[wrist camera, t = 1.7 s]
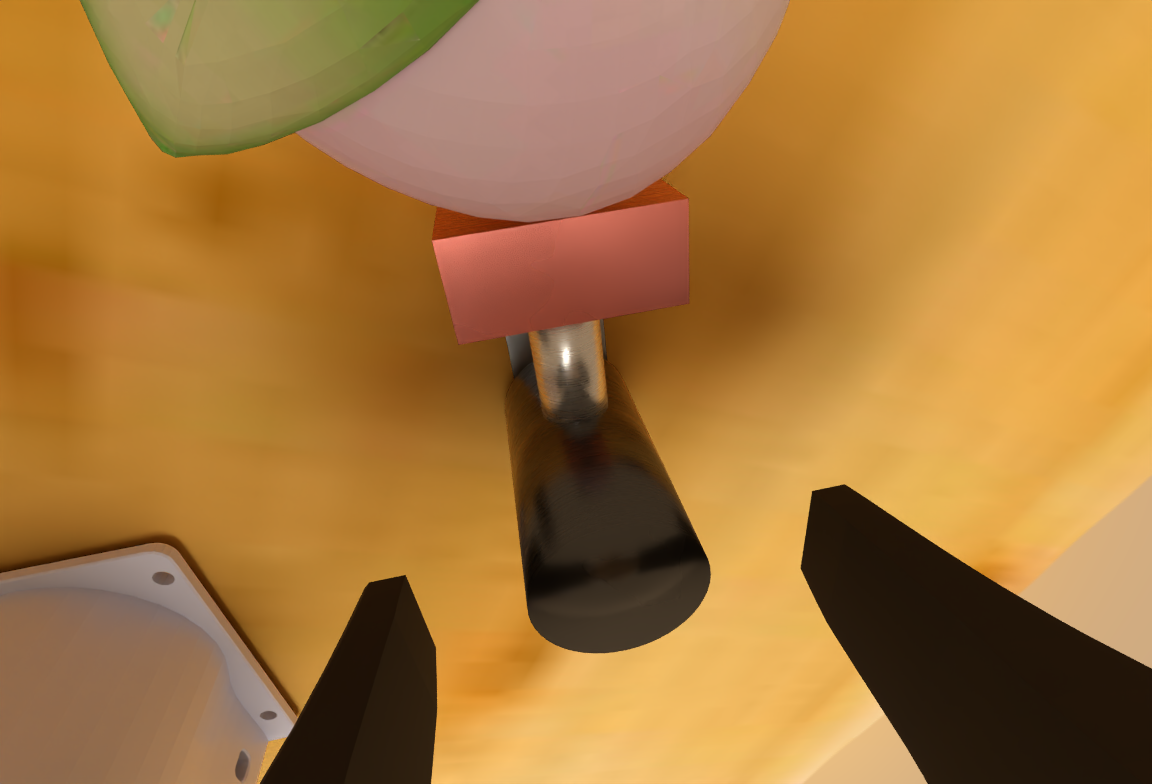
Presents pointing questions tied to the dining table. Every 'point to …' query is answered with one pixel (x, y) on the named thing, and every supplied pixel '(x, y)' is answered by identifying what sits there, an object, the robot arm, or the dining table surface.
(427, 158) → the decorative fruit
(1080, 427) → the dining table surface
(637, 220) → the kicker rod
